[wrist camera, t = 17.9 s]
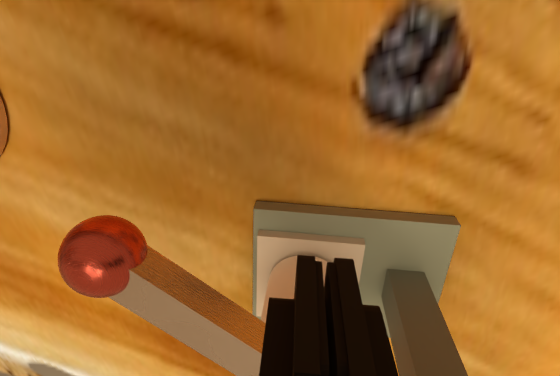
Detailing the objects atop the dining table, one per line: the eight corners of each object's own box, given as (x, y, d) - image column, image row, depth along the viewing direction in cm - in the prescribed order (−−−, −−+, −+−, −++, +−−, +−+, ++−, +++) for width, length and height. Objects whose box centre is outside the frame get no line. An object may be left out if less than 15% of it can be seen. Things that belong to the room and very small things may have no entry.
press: (255, 312, 37) (217, 487, 23) (256, 200, 32) (207, 342, 18) (422, 329, 36) (488, 524, 22) (454, 216, 31) (568, 381, 17)
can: (341, 310, 33) (353, 453, 22) (271, 309, 34) (249, 446, 23) (342, 251, 30) (356, 381, 19) (266, 251, 31) (238, 376, 20)
